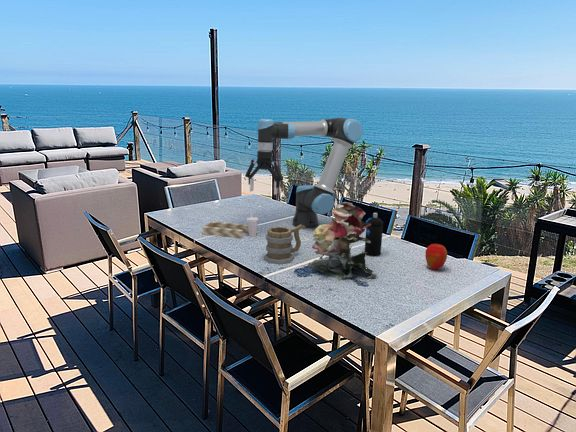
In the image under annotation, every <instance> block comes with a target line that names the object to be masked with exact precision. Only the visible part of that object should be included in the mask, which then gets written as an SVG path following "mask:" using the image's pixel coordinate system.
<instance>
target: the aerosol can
mask: <svg viewBox="0 0 576 432" xmlns="http://www.w3.org/2000/svg"><path fill="white" fill-rule="evenodd" d="M365 223H371V225H370V226H368V227H367V228H366V229H365V236H364V238H366V239H368V240H369V241H370V242H371V243H367V242H365V241H364V251H363V253H364V252H366V254H365V256H368V257H380V256H381V255H382V241H383V240H382V239H383V228H384V221H383V220H382V219H381V218H379V217H378V212H373V213H372V217H369V218H368V219H367V220H365ZM366 232H370V233H366Z"/></svg>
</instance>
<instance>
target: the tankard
mask: <svg viewBox="0 0 576 432" xmlns="http://www.w3.org/2000/svg"><path fill="white" fill-rule="evenodd" d="M305 229H306V228H305V226H303V225H301V224H300V225H298V226H297V227H296V226H294V227H293V228H289V227H286V226H273V227H270V228H269V229H267V234H266V235H265V240H266V241H267V244H266V245H265V251H267V253H265V255H264V256H263V257H264V260H266V262H268V263H269V264H270V263H271V264H276V265H282V264H283V265H284V264H290V263H291V262H292V261H293V260H294V259H295V255H294V254H295V253H296V252H299V250H300V248H301V246H302V241H301V238H300V230H305ZM293 239H294V240H295V246H293V244H292V241H293ZM292 253H294V254H292Z"/></svg>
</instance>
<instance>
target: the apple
mask: <svg viewBox="0 0 576 432" xmlns="http://www.w3.org/2000/svg"><path fill="white" fill-rule="evenodd" d="M447 258H448V250H447V249H446V246H444V245H442V244H439V243H431V244H430V245H428V246H427V247H426V249H425V261H426V264H427V267H428V268H429V269H430V270H433V271H436V270H439V269H441V268H443V267H444V265H445V263H446V262H447Z"/></svg>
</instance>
